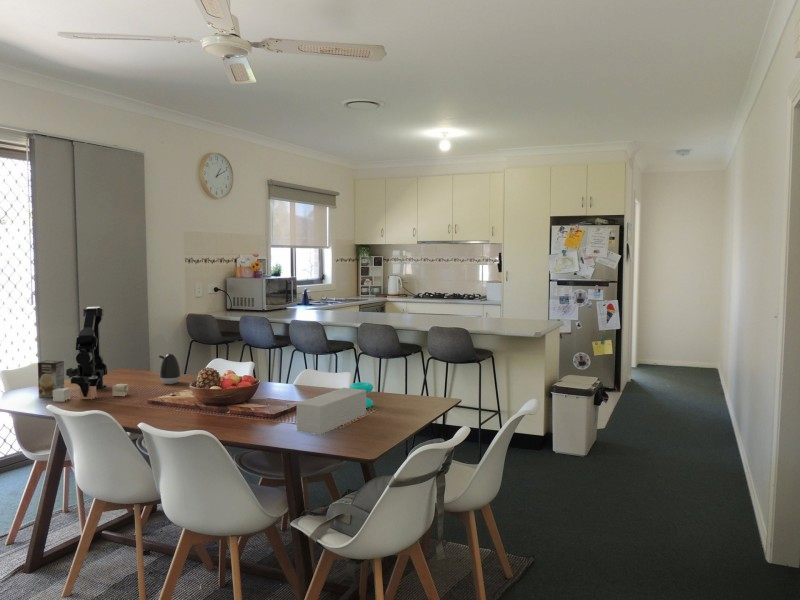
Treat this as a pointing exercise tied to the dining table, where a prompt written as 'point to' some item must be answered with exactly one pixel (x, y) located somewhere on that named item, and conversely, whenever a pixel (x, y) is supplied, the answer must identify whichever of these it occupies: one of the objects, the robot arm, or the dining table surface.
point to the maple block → (120, 389)
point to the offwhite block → (61, 394)
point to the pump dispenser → (169, 369)
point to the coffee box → (50, 377)
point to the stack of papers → (330, 410)
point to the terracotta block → (89, 393)
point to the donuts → (364, 386)
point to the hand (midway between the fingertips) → (88, 395)
